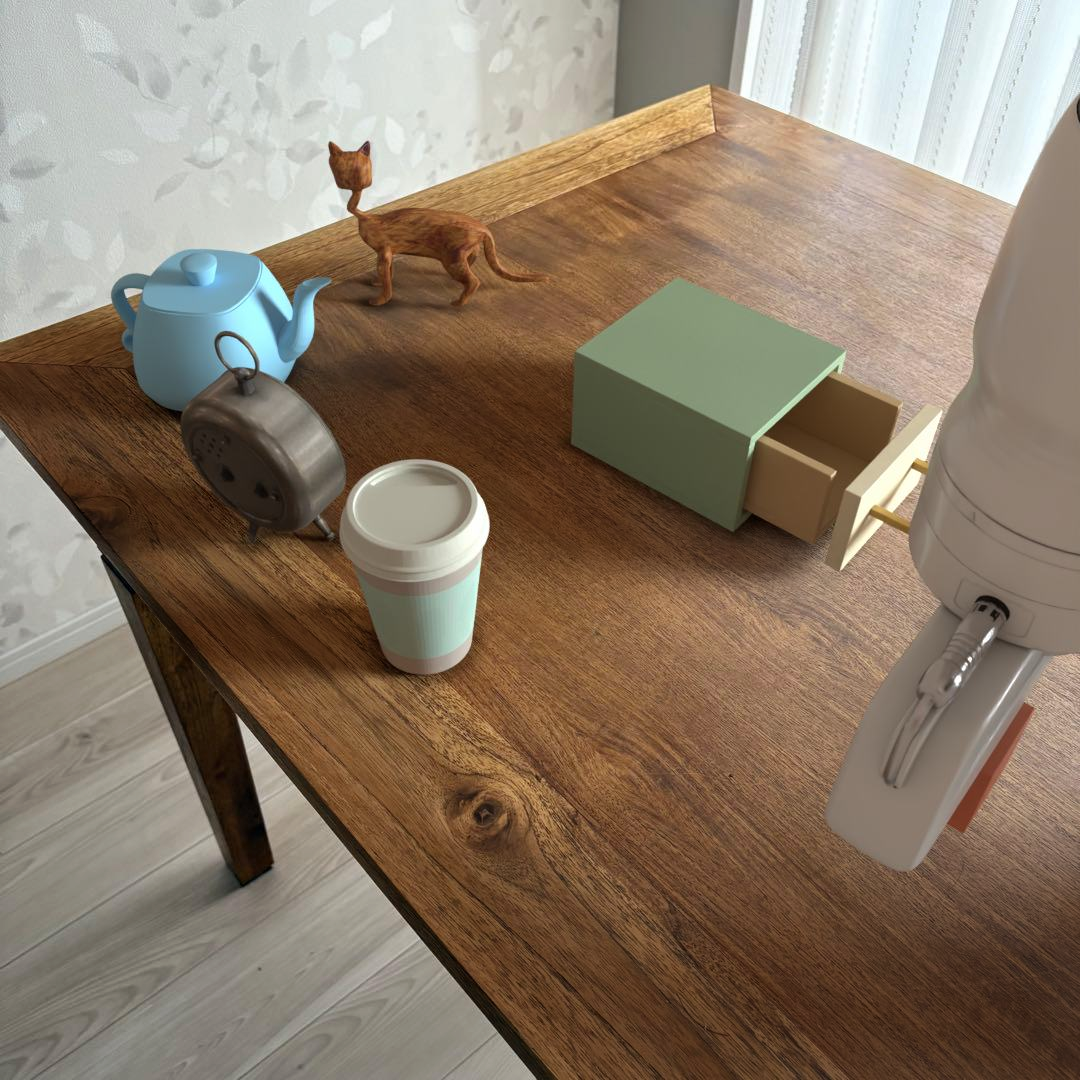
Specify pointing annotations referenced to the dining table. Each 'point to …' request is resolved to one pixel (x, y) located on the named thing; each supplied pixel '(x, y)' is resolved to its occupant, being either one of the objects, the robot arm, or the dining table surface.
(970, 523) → the robot arm
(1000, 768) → the block
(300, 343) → the teapot
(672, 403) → the cabinet
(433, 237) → the cat figurine
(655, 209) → the dining table surface
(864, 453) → the drawer
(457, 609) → the coffee cup
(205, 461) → the alarm clock
